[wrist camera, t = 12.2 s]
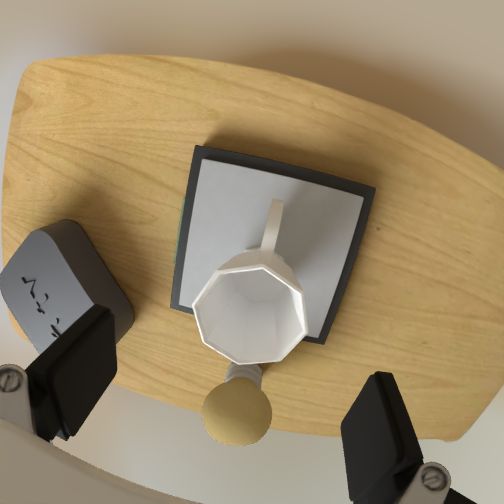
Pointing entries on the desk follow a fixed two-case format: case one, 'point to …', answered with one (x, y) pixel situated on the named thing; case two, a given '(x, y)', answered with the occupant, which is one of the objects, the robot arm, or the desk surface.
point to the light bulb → (238, 407)
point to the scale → (254, 222)
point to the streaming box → (59, 284)
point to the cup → (253, 303)
